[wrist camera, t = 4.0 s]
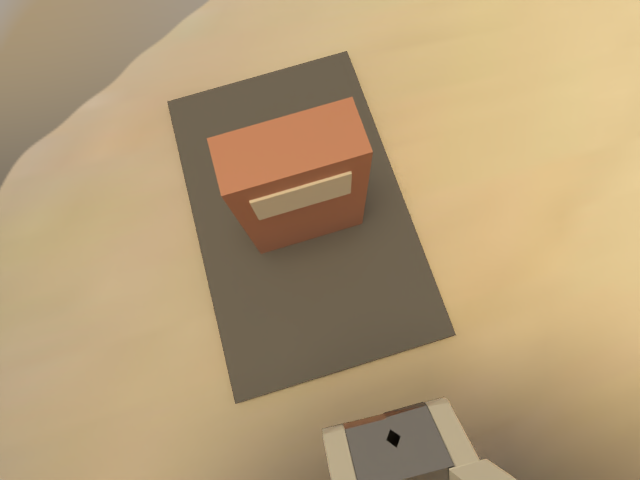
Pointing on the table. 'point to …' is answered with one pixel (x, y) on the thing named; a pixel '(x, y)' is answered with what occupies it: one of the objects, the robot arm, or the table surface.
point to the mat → (305, 249)
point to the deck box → (295, 174)
